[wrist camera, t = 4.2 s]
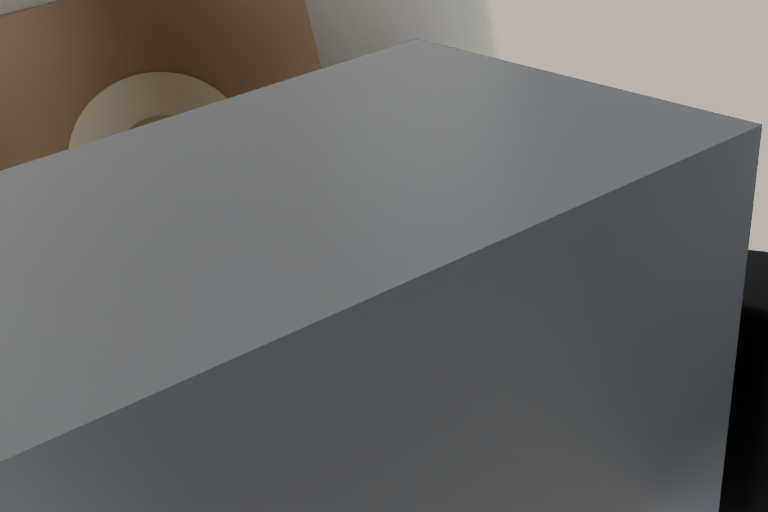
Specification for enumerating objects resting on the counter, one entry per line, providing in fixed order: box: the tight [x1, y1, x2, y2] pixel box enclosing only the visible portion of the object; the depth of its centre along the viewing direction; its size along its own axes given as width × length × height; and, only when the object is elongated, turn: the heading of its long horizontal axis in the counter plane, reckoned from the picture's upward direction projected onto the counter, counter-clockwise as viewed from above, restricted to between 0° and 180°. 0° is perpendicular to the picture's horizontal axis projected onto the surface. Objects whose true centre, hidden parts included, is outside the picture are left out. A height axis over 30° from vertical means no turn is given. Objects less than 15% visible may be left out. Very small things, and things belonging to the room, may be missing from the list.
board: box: [0, 0, 321, 171], centre depth 15 cm, size 9×8×4 cm
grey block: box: [0, 39, 762, 512], centre depth 7 cm, size 6×6×5 cm
